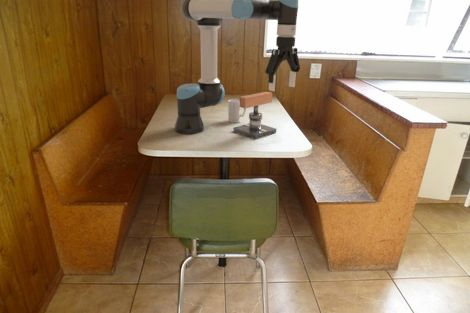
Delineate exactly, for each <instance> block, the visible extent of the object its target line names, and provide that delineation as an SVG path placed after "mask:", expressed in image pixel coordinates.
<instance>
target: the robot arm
mask: <svg viewBox="0 0 470 313" xmlns="http://www.w3.org/2000/svg"><path fill="white" fill-rule="evenodd" d="M180 5H181V6H180V12H181V14H182V16H183V17H184V18H185V19H186V20H188V21H190V22H194V23H196V25H197V26H196V27H198V29H199V30H200V33H199V35H200V37H199V38H200V78H199V79H198V81H197V82H198V83H191V82H190V83H184V84H182V85H179V86H178V87H177V89H176V102H177V103H176V104H177V117H176V121H175V124H174V130H175V132H177V133H180V134H184V135H185V134H186V135H192V134H199V133H201V132H203V131H204V130H205V126H204V122H203V119H202V116H201V109H204V108H210V107H214V106H218V105H220V104H221V103H222V102H223V101H224V99H225V94H226V93H225V92H226V91H225V88H224V86H223V85H222V84H221V80H220V79H219V78H218V30H219V29H220V28H221V26H222V25H221V24H222V23H221V22H223V21H224V20H225V19H227V20H228V19H229V20H230V19H231V20H232V19H233V20H241V21H243V20H244V21H245V20H255V21H256V20H258V21H259V20H261V21H262V20H263V21H267V20H268V21H269V20H271V21H274V20H275V21H277V25H276V26H277V27H276V28H277V29H276V35H277V37H276V41H275V42H276V44H275V45H276V47H277V49H275V48H273V49H271V55H270V57H269V60H268V64H267V66H266V69H265V72H264V73H265V74H267V75H268V91H270V92H275V91H276V89H275V88H276V78H277V77H276V76H277V75H276V73H277V70H278V69H279V67H280V65H281V64H282V62H283V61H286V62H287V64H288V66H289V69H290V70H291V71H289V77H288V78H289V80H288V87H290V88H295V87H296V79H297V73H299V72H300V70H301V65H300V62H299V61H300V60H299V55H298V48H297V47H295V46H296V37H295V36H296V33H297V31H296V30H297V18H298V11H299V0H182V2H181V4H180Z"/></svg>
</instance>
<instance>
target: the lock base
mask: <svg viewBox="0 0 470 313" xmlns="http://www.w3.org/2000/svg"><path fill="white" fill-rule="evenodd" d="M232 128H233V132H235V133H236V134H237V133H238V134H240V135H243V136H246V137H248V138H250V139H254V140H256V139H257V140H258V139H261V138H262V137H266V136H269V135H273V134H276V133H277V128H276V127H275V128H274V127H272V126H269V125H265V124H263V123H262V119H261V120H250V119H249V123H244V124H243V125H238V126H234V127H232Z"/></svg>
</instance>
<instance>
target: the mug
mask: <svg viewBox="0 0 470 313" xmlns="http://www.w3.org/2000/svg"><path fill="white" fill-rule="evenodd" d="M227 101H228V102H227V103H228V104H227V105H228V106H227V107H228V122H229V123H232V124H233V123H239V122H240V118H241V117H242V118H243V117H244V116H245V113H246V109H247V108H243V112H242V113H240V110H241V107H239V105H240V99H235V98H234V99H233V98H232V99H229V100H227Z"/></svg>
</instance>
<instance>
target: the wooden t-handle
mask: <svg viewBox="0 0 470 313" xmlns="http://www.w3.org/2000/svg"><path fill="white" fill-rule="evenodd" d="M239 100H240V105H239V107H240V108H243V109H244V108H246V109H249V108H253V112H249V113H248V119H249V121H250V120H261V121H262V120H263V113H261V112H259V106H262V105H266V104H270V103H273V92H272V91H270V92H269V91H264V92H263V91H262V92H257V93H251V94H248V95H242V96H239Z"/></svg>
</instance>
